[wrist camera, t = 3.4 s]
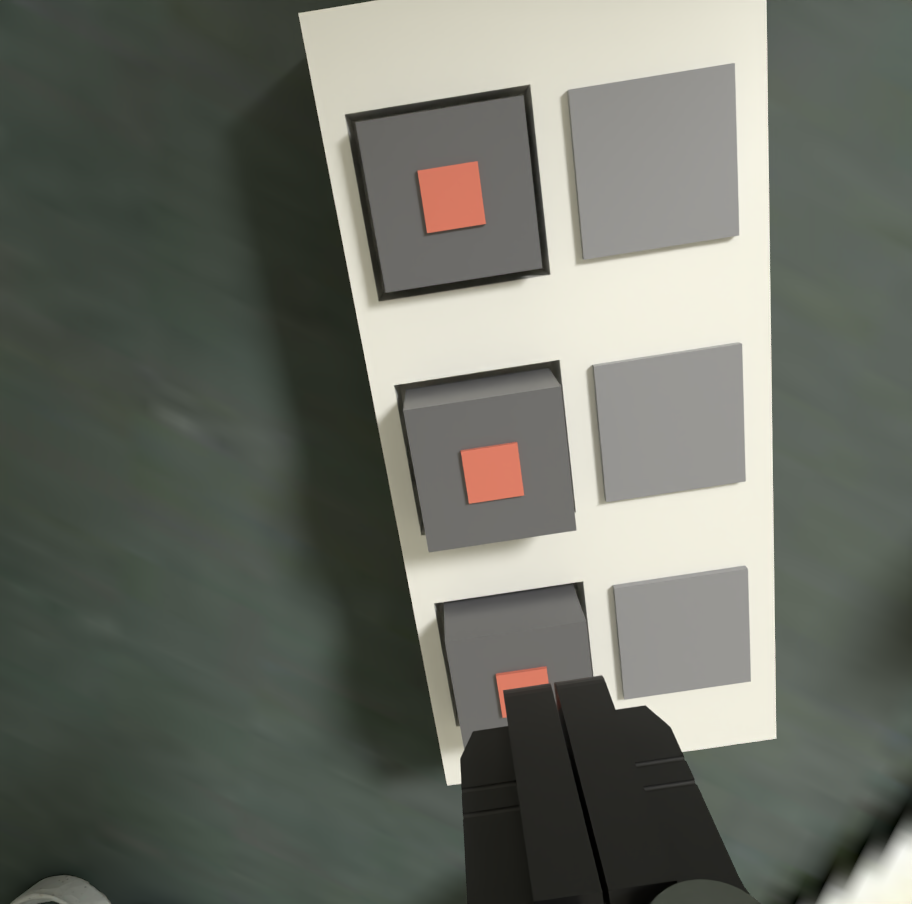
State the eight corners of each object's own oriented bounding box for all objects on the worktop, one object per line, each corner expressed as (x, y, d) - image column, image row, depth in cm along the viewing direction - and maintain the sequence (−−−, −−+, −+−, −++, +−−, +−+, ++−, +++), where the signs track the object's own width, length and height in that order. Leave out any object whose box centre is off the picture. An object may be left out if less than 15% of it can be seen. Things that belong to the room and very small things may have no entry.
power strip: (309, -17, 22) (282, -62, 18) (708, -83, 22) (768, -144, 18) (445, 713, 31) (447, 790, 27) (734, 672, 31) (779, 743, 27)
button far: (443, 602, 25) (444, 644, 23) (572, 583, 25) (586, 623, 23) (462, 709, 27) (465, 759, 24) (584, 691, 27) (599, 739, 24)
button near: (363, 130, 22) (354, 121, 19) (513, 105, 22) (523, 94, 19) (390, 283, 23) (385, 293, 21) (531, 260, 23) (543, 268, 21)
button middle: (406, 389, 23) (402, 411, 21) (548, 367, 23) (562, 387, 21) (429, 519, 24) (428, 554, 22) (563, 499, 24) (577, 532, 22)
